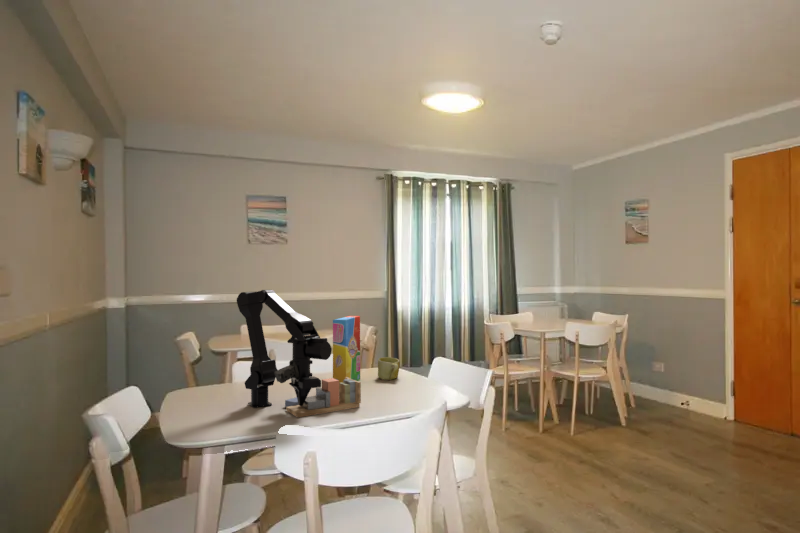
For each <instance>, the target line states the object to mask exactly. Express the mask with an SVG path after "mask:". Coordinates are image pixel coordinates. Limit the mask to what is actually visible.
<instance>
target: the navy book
mask: <svg viewBox="0 0 800 533" xmlns="http://www.w3.org/2000/svg"><path fill="white" fill-rule="evenodd" d="M284 400H285V401H284V404H285V405H284V407H285V408H286V407H288V406H295V405H299V404H298V400H297V396H296V397H292V398H289V399H284Z"/></svg>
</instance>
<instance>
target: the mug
mask: <svg viewBox="0 0 800 533" xmlns="http://www.w3.org/2000/svg"><path fill="white" fill-rule="evenodd" d="M400 365H401V364H400V359H398V358H397V357H391V356H384V357H379V358H378V360H377V370H378V371H377V378H378V379H381V380H383V381H384V380H385V381H388V380H389V381H390V380H395V379H397V378H398V377H399V371H400Z"/></svg>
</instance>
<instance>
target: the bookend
mask: <svg viewBox="0 0 800 533" xmlns="http://www.w3.org/2000/svg"><path fill="white" fill-rule="evenodd" d="M302 407H303V408H305V409H307V410H313V409H319V408H325V407H326V408H327V407H330V391H327V390H325V389H323V388H322V386H321V387H317V388H315V395H311V396H307V398H306V400H305V402H304V404H303V406H302Z"/></svg>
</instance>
